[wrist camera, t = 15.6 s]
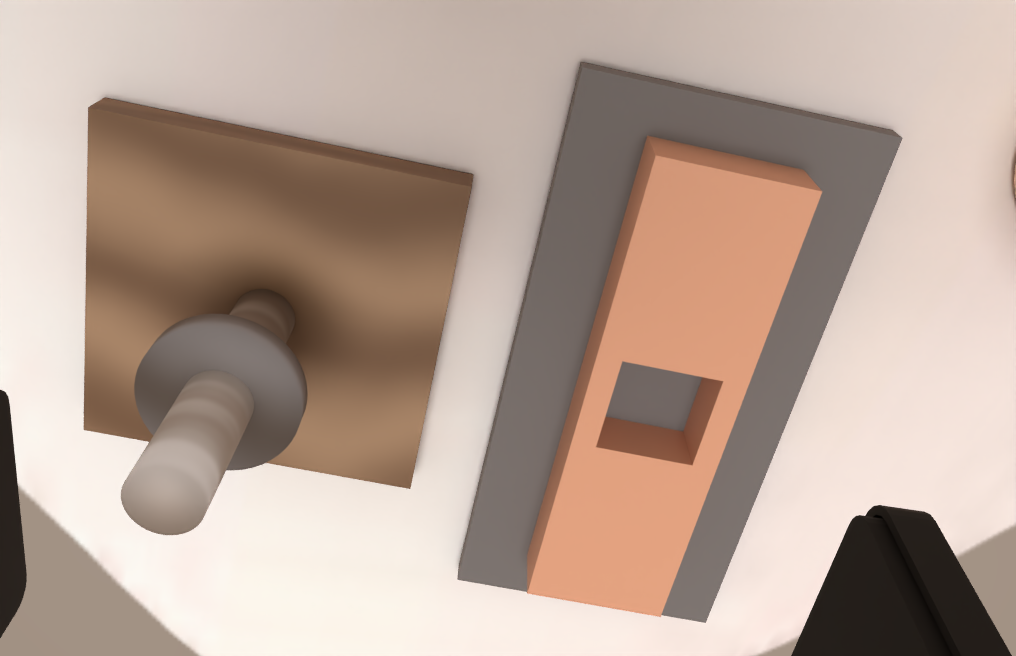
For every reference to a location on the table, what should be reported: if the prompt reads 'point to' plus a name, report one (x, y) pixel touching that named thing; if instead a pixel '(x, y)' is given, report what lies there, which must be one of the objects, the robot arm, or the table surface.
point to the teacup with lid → (1015, 180)
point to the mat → (647, 390)
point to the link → (670, 346)
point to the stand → (258, 303)
